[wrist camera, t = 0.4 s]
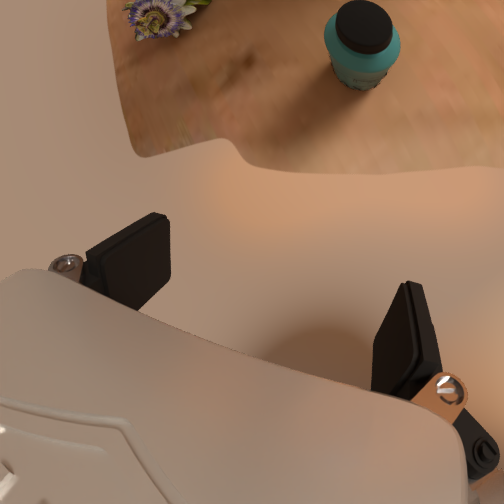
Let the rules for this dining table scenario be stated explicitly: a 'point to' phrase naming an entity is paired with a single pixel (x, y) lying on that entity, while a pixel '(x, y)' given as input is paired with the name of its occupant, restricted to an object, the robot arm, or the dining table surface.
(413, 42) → the dining table surface
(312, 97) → the dining table surface
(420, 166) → the dining table surface
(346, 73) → the beverage bottle
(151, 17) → the passion flower
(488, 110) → the dining table surface
